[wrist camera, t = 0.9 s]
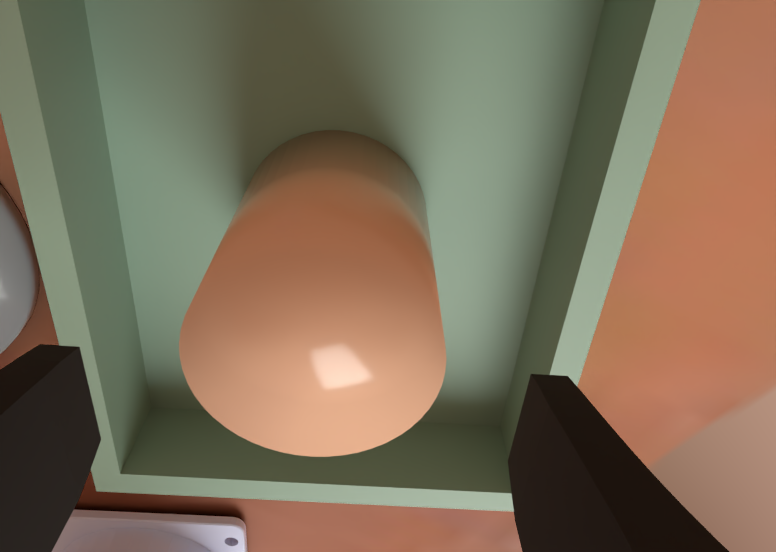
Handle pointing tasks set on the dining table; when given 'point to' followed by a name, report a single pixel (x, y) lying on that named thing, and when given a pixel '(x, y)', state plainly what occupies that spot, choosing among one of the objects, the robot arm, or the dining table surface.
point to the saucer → (15, 272)
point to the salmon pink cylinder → (320, 303)
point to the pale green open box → (318, 113)
